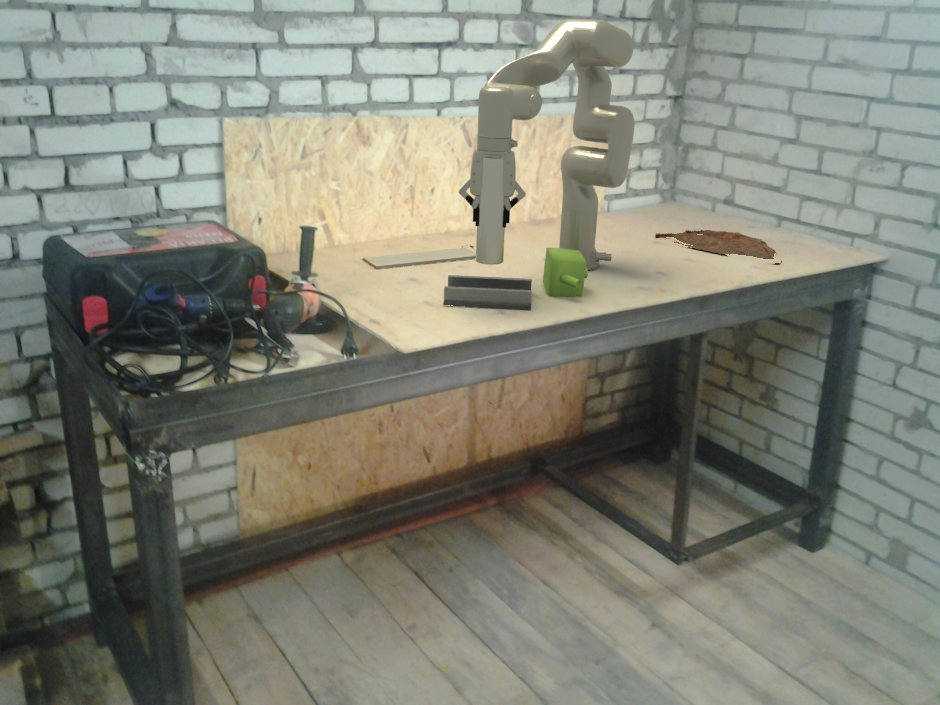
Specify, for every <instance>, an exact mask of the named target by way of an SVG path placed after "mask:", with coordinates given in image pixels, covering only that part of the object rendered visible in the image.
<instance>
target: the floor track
mask: <svg viewBox="0 0 940 705" xmlns="http://www.w3.org/2000/svg"><path fill="white" fill-rule="evenodd" d="M532 282H533V279H532V278H519V277H502V276H501V277H499V276H497V277H496V276H478V275H460V274H459V275H458V274H457V275H456V274H455V275H454V274H453V275H452V274H449V275H447V285H445V286H443V305H450V306H449V307H453V306H465V307H464V308H473V307H477V308H478V309H494V310H495V309H498V310H517V311H531V309H532V292H533V291H532V287H533V286H532V285H533V284H532ZM443 305H442V306H443ZM451 305H453V306H451ZM477 308H476V309H477Z"/></svg>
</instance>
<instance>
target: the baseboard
mask: <svg viewBox="0 0 940 705" xmlns="http://www.w3.org/2000/svg"><path fill="white" fill-rule="evenodd" d="M469 248H471V250H470V249H469ZM469 248H467V246H466V247H457V248H447V249H438V250H437V249H436V250H426V251H419V252H417V251H416V252H408V253H399V254H398V253H397V254H388V255H387V254H386V255H379V256H377V255H376V256H367V257H363V258H362V259H361V261H363V262H364V263H366V264H367V263H368V265H369V266H370V267H372V268H373V267H374V269H375V270H382V269H381V268H385V269H392V268H393V267H395V268H403V266H404V267H413V266H412V265H414V266H419V265H420V266H422V265H421V264H423V265H429V264H428V263H432V264H438V263H437V262H442V263H446V262H445V261H451V262H457V261H456V260H461V261H465V260H464V259H470V260H474V259H473V258H476V251H472V249H474V245H469ZM393 269H394V268H393Z"/></svg>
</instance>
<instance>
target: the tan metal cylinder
mask: <svg viewBox="0 0 940 705" xmlns="http://www.w3.org/2000/svg"><path fill="white" fill-rule="evenodd" d="M478 210H479V213H478V226H476V243H475V244H476V245H475V246H476V248H475V253H476V259H475V262H476V263H478V264H482V265H494V266H495V265H500V264H502V263H504V252H505V232H506V230H505V229H506V228H504V227H503V224H504V210H505V197H504V196H503V158H500V154H489V158H487V157H484V158H483V178H482V188H481V195H480V196H479V203H478Z"/></svg>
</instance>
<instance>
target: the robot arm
mask: <svg viewBox="0 0 940 705" xmlns="http://www.w3.org/2000/svg"><path fill="white" fill-rule="evenodd" d="M633 53H634V41H633V38H632V36H631V35H630V34H629V32H628V31H626V30H625V29H622V28H620V27H618V26H616V25H614V24H612V23H609V22H607V21H605V20H600V19H590V18H589V19H588V18H587V19H586V18H583V19H582V18H567V19H564V20H561V21H560V22H558V23H557V24H556V25H555V26H554V27H553V28H552V30H551V31H550V32H549V33H548V34H547V35H546V36H545V38H544V39H543V40H542V41H541V42H540V44H538V46H537V47H536V48H535V49H534V50H533V51H531V52H530V53H528V54H525V55H523V56H521V57H518V58H517V59H515V60H512V61H511V62H509V63H507V64H505V65H503V66H501V67H500V68H499V69H497V70H496V71H495V72H494V74H493V75H491V77H490V78H489V79H488V80H487V82H486V83H485V84H484V86H483V87H481V89H480V90H479V94H478V111H477V112H478V115H477V140H476V141H477V143H476V144H477V147H476V149H474V150H473V154H472V159H471V166H470V176H469V179H468V180H467V181H466V182H465V183H464V184H463V185H462V186H461V187H460V188H459V190H458V193H459V196H461V197H462V198H463V199H465V200H466V202H467V203H468V204H469V205H470V206H471V207H472V222H474V223H475V225H474V226H475V227H477V226H478V213H479V210H478V203H479V196H480V195H481V188H482V178H483V158H484V157H487V158H489V154H500V158H503V196H504V197H505V210H504V224H503V227H504V228H505V229H506V228H507V224H510V218H511V217H510V215H511V210H512V209H513V207H515V206H516V205H517V204H518V203H519V202H520V201H521V200H522V199H524V198H525V197H526V196H527V193H526V191H525V190H524V189H523V187H521V185H520V184H519V183H518V182H517V179H516V175H517V174H516V156H515V151H513V150H512V149H513V148H517V147H518V145H519V140H515V139H513V138H512V136H513V135H512V133H513V120H514V121H515V120H516V121H530V120H532V119H534V118H535V117H536V116H537V115H539V114H540V111H541V109H542V106H543V99H542V95H541V93H540V92H539V91H538V89H536V87H540V86H544V85H548V84H552V83H553V82H555V81H558V79H560V78H561V77H562V76H563V74H564V73H565V72H566V70H567V69H568V68H569V66H571V64H572V66H573V67H574V70H575V73H576V76H577V81H578V82H577V84H578V86H577V93H576V95H577V96H576V101H575V109H574V115H573V120H572V121H573V123H572V132H573V136H574V137H575V138H577V139H578V140H581V141H585V142H592V143H601V144H607V148H600V147H596V146H595V147H592V146H584V145H577V146H572V147H569V148H568V149H566V150H565V151H564V152H563V154H562V157H561V160H560V172H561V180H562V181H561V182H562V198H561V199H562V200H561V201H562V202H561V203H562V204H561V215H560V217H561V218H560V229H559V230H560V233H559V245H558V246H559V247H558V248H561V249H571V250H579V251H580V252H581V253H582V255H583V257H584V258H585V260H586V268H587V269H588V271H593V270H596V269H598V268H599V267H600V261H605V262H611V261H612V253H607V252H599V251H597V250H596V247H595V246H596V237H597V223H598V222H597V221H598V212H599V211H598V210H599V197H598V194H597V192H596V189H595V187H594V186H596V187H602V188H610V189H614V188H615V189H616V188H619V187H621V186H622V185H623V183H624V182H625V180H626V178H627V174H628V171H629V164H630V159H631V153H632V148H633V147H632V146H633V140H634V136H635V119H634V114H633V112H632V111H631V109H630V108H629V107H626V106H623V105H615V104H610V103H611V94H612V90H613V89H612V88H613V87H612V85H613V84H612V81H611V77H610V74H609V72H608V70H607V69H606V67H607V68H608V67H609V68H622V67H624V66H626V65H627V64H629V62H630V61H631V58H632V57H633ZM468 190H469V193H470V194H469V193H468ZM515 191H516V193H517V195H516V196H514V195H515ZM472 195H473V196H474V198H473V197H472ZM513 196H514V197H513ZM511 197H513V198H512V199H511V200H510V198H511Z"/></svg>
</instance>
